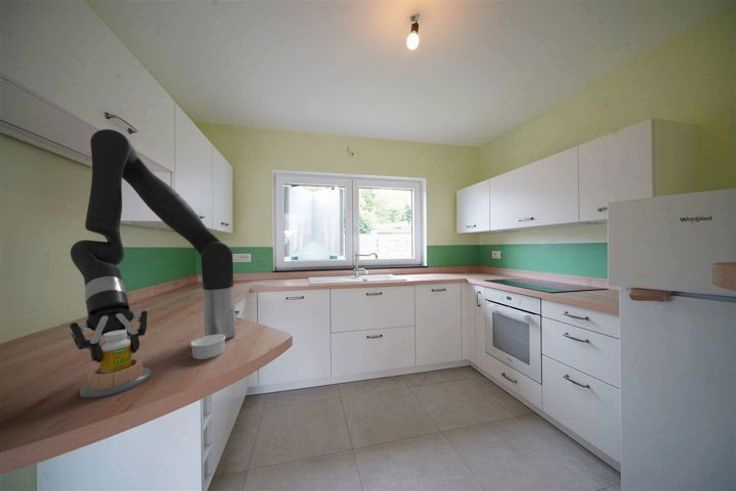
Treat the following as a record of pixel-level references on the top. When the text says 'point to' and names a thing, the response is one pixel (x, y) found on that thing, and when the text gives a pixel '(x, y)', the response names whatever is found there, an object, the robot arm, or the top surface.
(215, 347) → the ramekin
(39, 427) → the top surface
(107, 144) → the robot arm
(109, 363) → the supplement bottle
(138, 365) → the holder
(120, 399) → the top surface
